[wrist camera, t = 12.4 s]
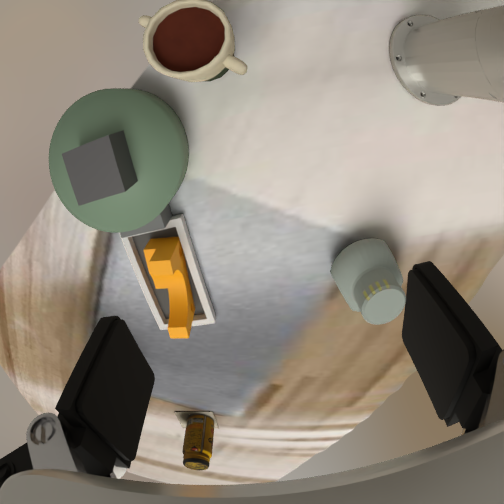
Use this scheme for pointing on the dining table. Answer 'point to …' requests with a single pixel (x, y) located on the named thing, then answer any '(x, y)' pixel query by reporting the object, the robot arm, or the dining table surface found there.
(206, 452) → the condiment
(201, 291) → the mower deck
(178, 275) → the pipe clamp
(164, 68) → the character mug
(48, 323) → the dining table surface
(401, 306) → the air freshener
